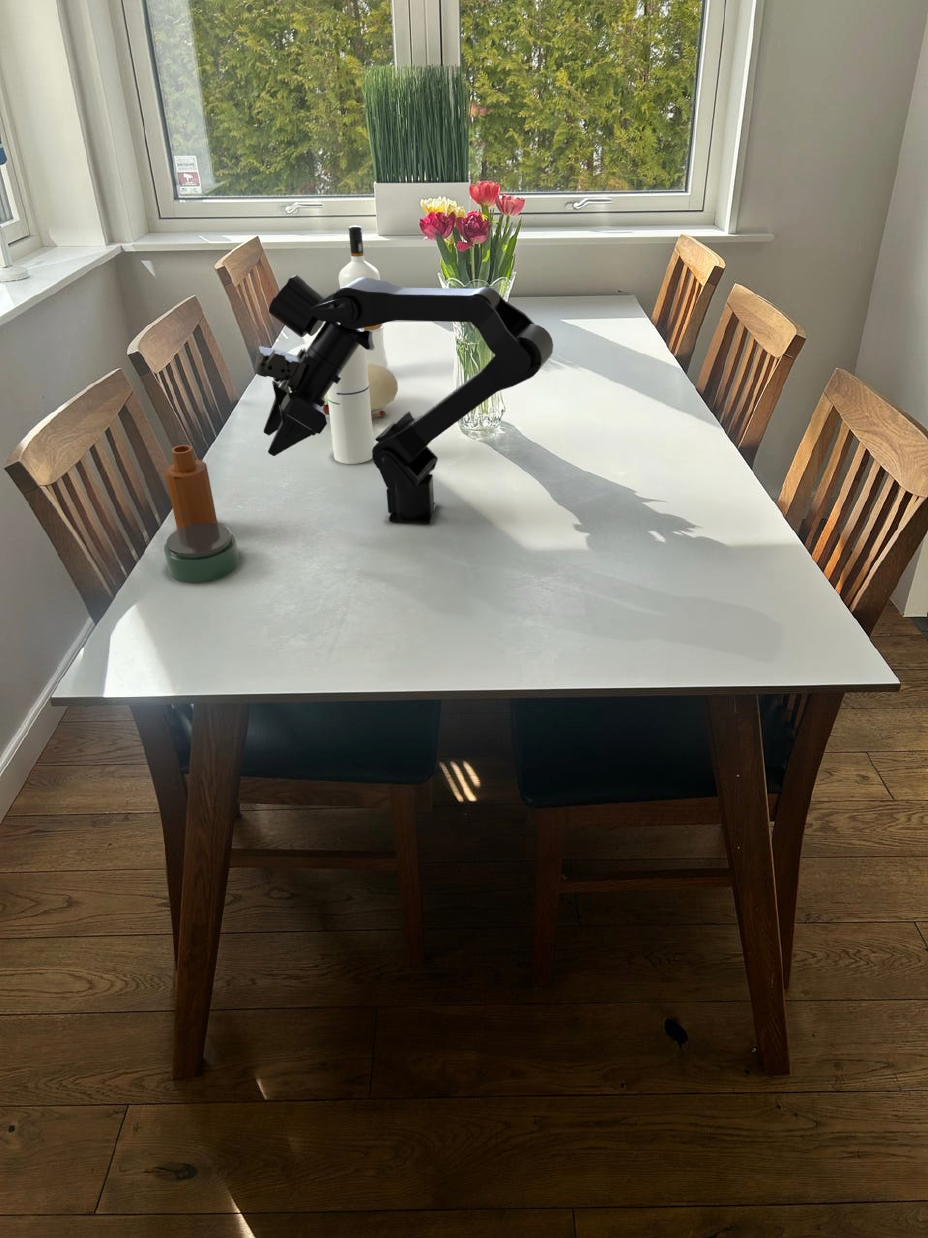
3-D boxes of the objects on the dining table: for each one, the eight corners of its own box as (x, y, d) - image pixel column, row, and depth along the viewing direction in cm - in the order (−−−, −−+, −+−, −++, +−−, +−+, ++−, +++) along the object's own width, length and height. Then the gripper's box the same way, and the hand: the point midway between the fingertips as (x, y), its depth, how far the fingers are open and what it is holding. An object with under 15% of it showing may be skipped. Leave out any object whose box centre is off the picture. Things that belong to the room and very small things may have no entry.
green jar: (249, 550, 140) (244, 523, 138) (224, 585, 132) (219, 557, 130) (185, 546, 142) (179, 519, 139) (157, 580, 134) (150, 553, 131)
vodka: (370, 363, 209) (358, 219, 192) (397, 373, 203) (388, 225, 187) (337, 374, 204) (322, 226, 187) (364, 384, 198) (351, 233, 181)
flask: (409, 422, 180) (315, 438, 176) (391, 394, 192) (304, 408, 189) (403, 375, 174) (307, 390, 171) (386, 349, 187) (296, 363, 184)
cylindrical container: (367, 465, 164) (355, 320, 151) (328, 462, 166) (312, 318, 152) (379, 448, 170) (368, 307, 156) (341, 446, 171) (327, 306, 158)
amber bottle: (224, 522, 148) (209, 441, 140) (209, 540, 143) (193, 458, 135) (187, 520, 149) (170, 440, 141) (172, 538, 144) (153, 456, 136)
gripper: (273, 310, 142) (218, 396, 146) (285, 341, 126) (223, 435, 130) (335, 353, 147) (280, 434, 151) (353, 387, 131) (291, 476, 135)
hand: (268, 443), depth 142 cm, fingers open, 9 cm apart
